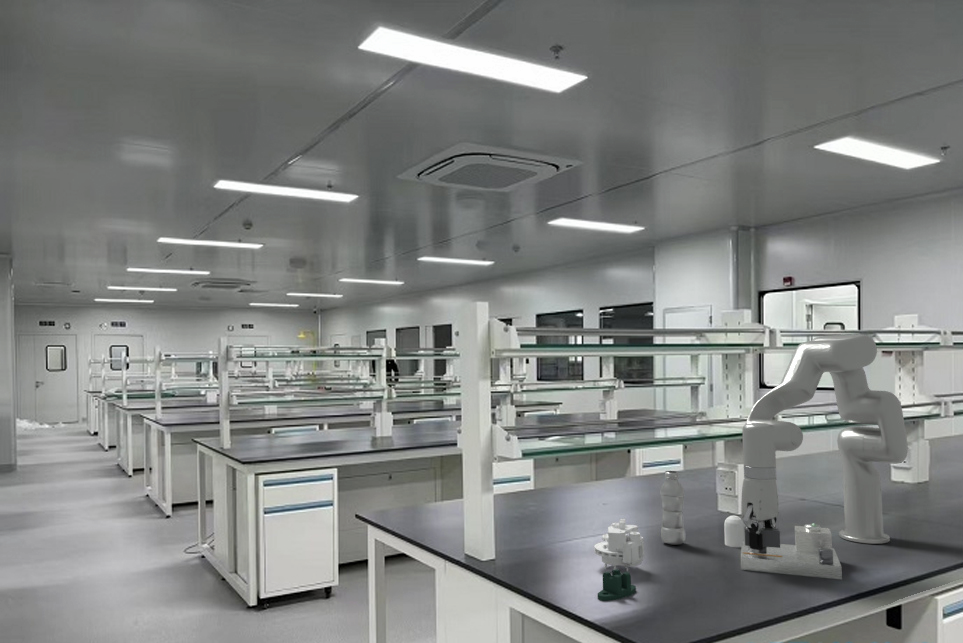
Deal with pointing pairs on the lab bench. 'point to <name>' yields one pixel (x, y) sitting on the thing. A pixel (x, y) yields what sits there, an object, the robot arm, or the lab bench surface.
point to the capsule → (734, 531)
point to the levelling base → (797, 555)
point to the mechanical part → (621, 546)
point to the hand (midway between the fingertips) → (762, 546)
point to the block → (765, 538)
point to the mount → (616, 586)
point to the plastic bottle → (672, 509)
